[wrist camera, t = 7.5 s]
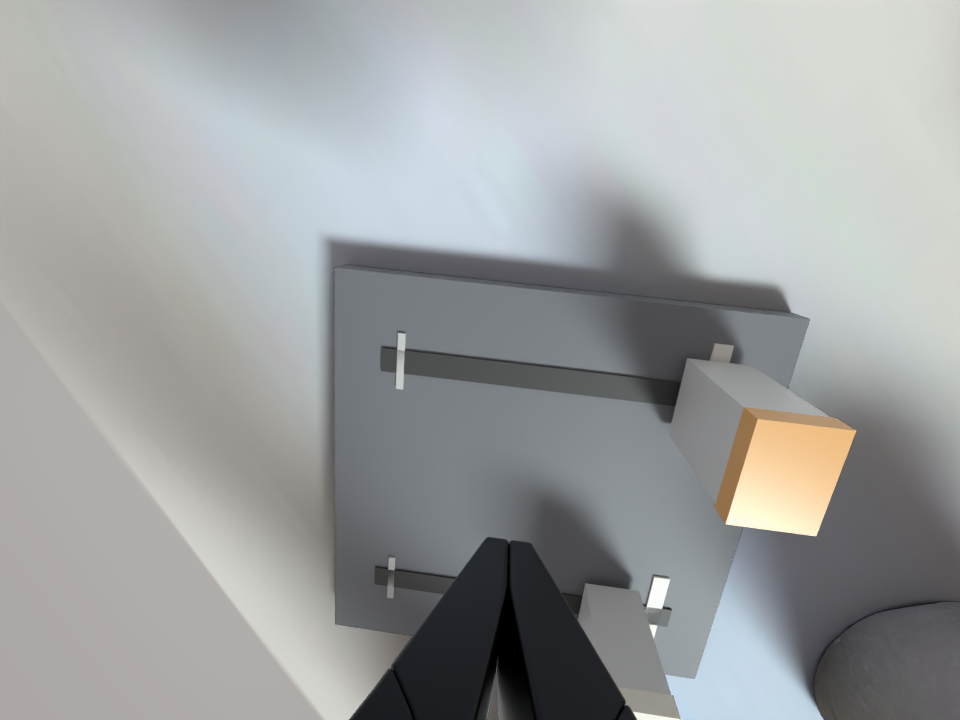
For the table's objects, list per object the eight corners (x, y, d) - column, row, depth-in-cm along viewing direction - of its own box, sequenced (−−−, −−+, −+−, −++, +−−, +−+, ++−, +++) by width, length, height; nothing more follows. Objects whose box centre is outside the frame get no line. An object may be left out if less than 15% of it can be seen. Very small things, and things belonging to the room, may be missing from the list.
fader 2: (731, 443, 18) (816, 536, 13) (666, 435, 18) (725, 524, 13) (754, 364, 17) (856, 430, 12) (686, 356, 17) (758, 419, 12)
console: (686, 656, 24) (695, 680, 22) (343, 605, 25) (334, 625, 23) (792, 312, 18) (811, 319, 17) (345, 264, 19) (333, 268, 18)
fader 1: (626, 645, 22) (659, 785, 16) (573, 637, 22) (589, 773, 17) (640, 590, 21) (680, 718, 15) (584, 582, 21) (605, 707, 16)
